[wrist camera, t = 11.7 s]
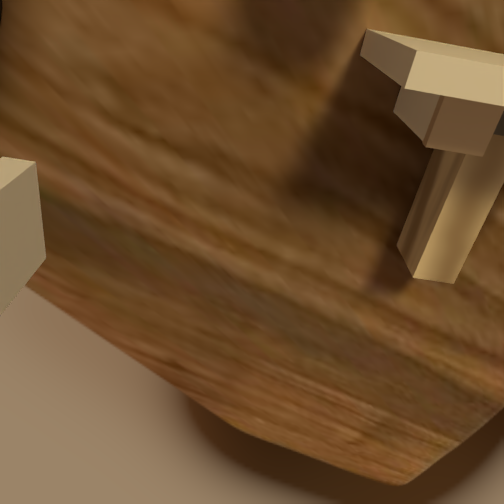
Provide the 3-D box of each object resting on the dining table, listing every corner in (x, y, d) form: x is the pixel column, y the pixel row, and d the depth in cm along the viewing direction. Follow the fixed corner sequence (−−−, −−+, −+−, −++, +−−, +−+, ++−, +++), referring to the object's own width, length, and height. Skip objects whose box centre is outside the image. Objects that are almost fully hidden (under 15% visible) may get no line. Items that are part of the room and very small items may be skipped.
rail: (396, 245, 46) (412, 277, 41) (457, 88, 38) (487, 104, 33) (432, 250, 46) (453, 283, 41) (501, 96, 38) (537, 113, 33)
